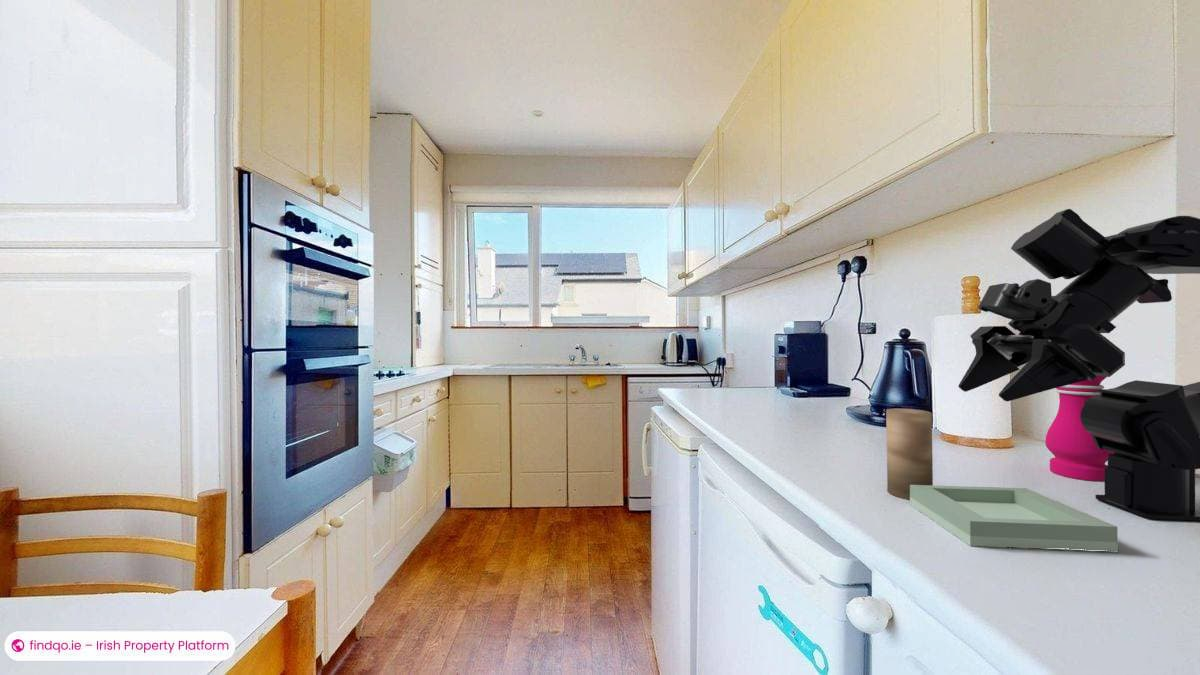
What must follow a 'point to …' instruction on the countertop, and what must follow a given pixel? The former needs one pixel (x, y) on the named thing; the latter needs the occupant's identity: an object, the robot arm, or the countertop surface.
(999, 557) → the countertop surface
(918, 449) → the walnut leg
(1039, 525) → the socket board
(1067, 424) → the pepper mill
